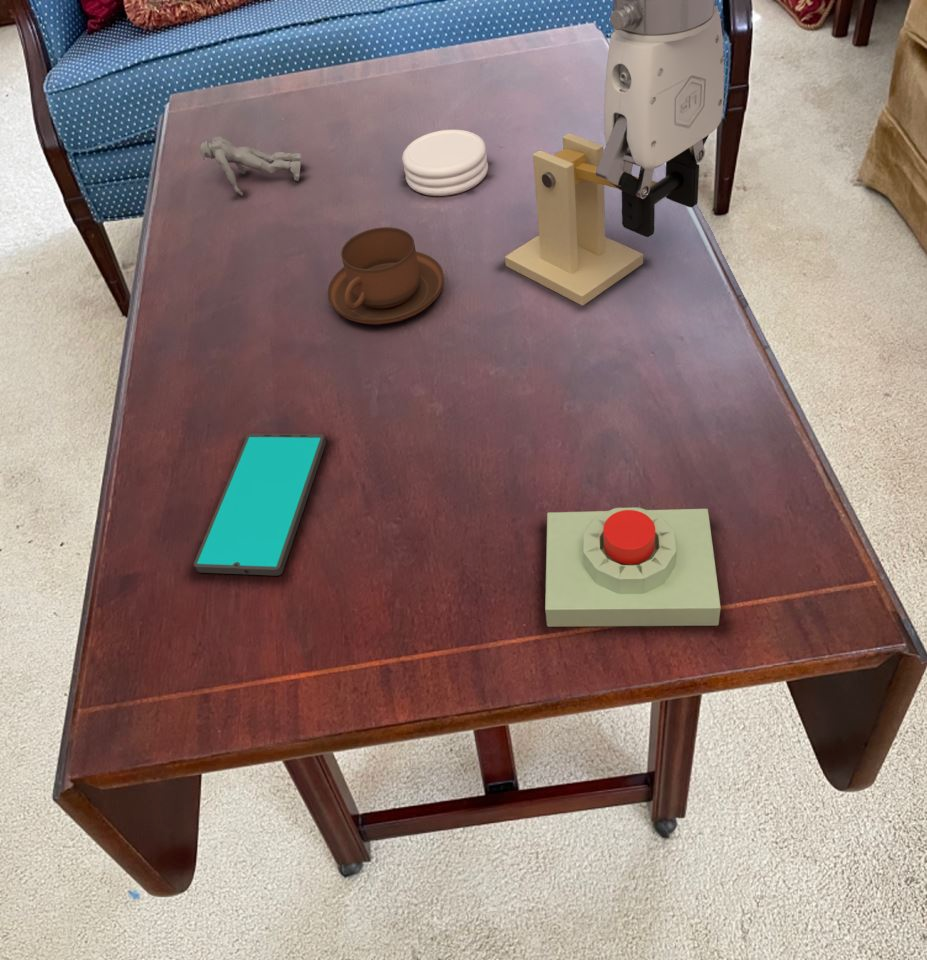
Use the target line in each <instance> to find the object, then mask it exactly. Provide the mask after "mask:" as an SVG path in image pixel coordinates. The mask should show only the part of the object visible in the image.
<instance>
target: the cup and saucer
mask: <svg viewBox="0 0 927 960" xmlns="http://www.w3.org/2000/svg"><path fill="white" fill-rule="evenodd" d="M340 252H341V253H340V257H341V260H342V264H343V267H342V268H341V269H340V270H338V272H337V273H336V274H335V275H333V277H332V279H331V281H330V282H329V285H328V287H327V298H328V301H329V303H330V306H331V307H332V308H333V310H334V311H335V312H336V313H337V314H338V315H340V316H341V317H343V318H345V319H346V320H350V321H352V322H355V323H359V324H364V325H387V324H392V323H398V322H401V321H405V320H407V319H410V318H412V317H414V316H416V315H418V314H419V313H421V312H423V311H424V310H426V309H427V308H428V307H429V306H431V304H433V302H435V301H436V300H437V298H438V297H439V295H440V294H441V292H442V289H443V287H444V281H445V273H444V270H443V268H442V266H441V265H440V263H439V262H438V261H437V260H436V259H435V258H433V257H432V256H429V255H428V254H426V253H423V252H420V251H417V250H416V244H415V239H414V238H413V236H412V235H411V233H409V232H408V231H406V230H404V229H401V228H397V227H390V226H389V227H388V226H387V227H386V226H384V227H383V226H382V227H375V228H370V229H367V230H364V231H362V232H359V233H357V234H355V235H354V236H352V237H351V238H350V239H348V240H347V241H346V242H345V244H344V245H343V247H341V251H340Z"/></svg>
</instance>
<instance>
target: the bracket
mask: <svg viewBox="0 0 927 960" xmlns="http://www.w3.org/2000/svg"><path fill="white" fill-rule="evenodd" d="M563 149H569V150H573V151H577V152H581V153H585V154H586V160H587V164H589V165H593V166H597V167H598V164H599V162H600V159H601V157H602V155H603V152H604V145H603V144H600V143H597V142H595V141H592V140H590V139H587V138H585V137H582V136H579V135H576V134H574V133H571V132H569V133H567V134H565V135H563V136H562V150H563ZM553 155H554V154H551V153H549V152H546V151H543V150H538V151H536V152H534V153H533V154H532V159H533V160H532V162H533V172H534V173H533V174H534V175H533V176H534V187H535V189H534V190H535V202H536V213H537V226H538V235H537V236H535V237H533V238H532V239H530V240H528V241H526V242H525V243H524V244H522V245H521V246H519V247H518V248H516V249H515V250H513V251H511V252H510V253H508V254H507V255H505V256H504V262H505V266H506V267H507V268H509V269H511V270H513V271H515V272H517V273H518V274H520V275H522V276H524V277H526V278H528V279H529V280H532V281H533V282H536V283H537V284H540V285H541V286H543V287H545V288H548V289H549V290H551V291H553V292H555V293H557V294H559V295H561V296H562V297H565V298H566V299H569V300H570V301H572V302H574V303H576V304H578V305H579V306H585V305H586V304H588V303H589V302H590V301H592V300H593V299H595V298H596V297H597V296H599V295H600V294H602V293H603V292H605V291H606V290H607V289H609V288H610V287H612V286H613V285H615V284H616V283H618V282H619V281H620V280H622V279H623V278H624V277H626V276H627V275H630V274H631V273H632V272H633V271H635V270H636V269H638V268H639V267H641V266H642V265H643V264H644V254H643V253H642V252H640V251H637V250H635V249H634V248H631V247H629V246H626V245H624V244H623V243H620V242H618V241H616V240H613V239H611V238H609V237H608V236H607V237H606V218H605V217H606V215H605V185H602V184H598V183H594V182H591V181H587V180H583V181H581V182H580V183H578V184H577V185H575V180H574V164H573V163H571V162H568V161H566V160H563V159H561V158H558V157H556V156H553Z"/></svg>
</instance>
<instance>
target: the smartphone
mask: <svg viewBox="0 0 927 960" xmlns="http://www.w3.org/2000/svg"><path fill="white" fill-rule="evenodd" d="M326 444H327V440H326V438H325V434H322V433H254V432H253V433H248V434H247V435H246V437H245V439H244V442H243V444H242V446H241V449H240V451H239V454H238V456H237V459H236V460H235V463H234V466H233V469H232V470H231V473H230V476H229V477H228V480H227V483H226V485H225V487H224V490H223V493H222V495H221V497H220V499H219V501H218V505H217V506H216V509H215V512H214V513H213V516H212V519H211V521H210V523H209V526H208V528H207V530H206V533H205V535H204V538H203V540H202V542H201V544H200V547H199V550H198V552H197V554H196V557H195V559H194V562H193V566H194V568H195V570H196V572H197V573H201V574H223V575H224V574H225V575H226V574H227V575H228V574H230V575H250V576H251V575H252V576H274V577H275V576H281V575H282V574H283V572H284V569H285V565H286V564H287V561H288V558H289V556H290V552H291V548H292V545H293V542H294V540H295V537H296V533H297V531H298V528H299V525H300V522H301V519H302V515H303V514H304V510H305V507H306V504H307V501H308V499H309V495H310V492H311V489H312V487H313V486H312V485H313V484H314V480H315V477H316V473H317V471H318V469H319V465H320V462H321V460H322V459H321V458H322V457H323V454H324V451H325V447H326Z"/></svg>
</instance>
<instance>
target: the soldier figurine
mask: <svg viewBox="0 0 927 960" xmlns="http://www.w3.org/2000/svg"><path fill="white" fill-rule="evenodd" d="M210 141H211V142H209V140H204V141H202V142H201V144H200V147H199V151H200V155H201V158H202V160H203V161H205V158H207V159H211V160H212V159H213V160H214V159H215V161H216V162H217V164H218V166H220V167H221V169H222V170H223V172H225V174H226V175H225V176H226V178H227V180H228V181H229V183H230V184H231V185H232V186H233V188H234V191H235V192H236V193H237V194H238V195H240V196H242V197H243V196H244V193H243V192H242V191H241V190H240V188H239V186H238V182H237V177H236V174H235V172H234V170H233V169H232V167H231V165H230V164H235V165H236V167H237V170H238V172H239V173H240V174H242V175H245V174H246V173H247V171H246V170H247V168H250V169H253V170H256V171H263V172H264V171H265V172H267V173H270V174H274V173H277V172H278V171H281V170H286V171H288V170H289V171H290V172H291V173H292V174H293V179H294V181H296V182H299V181H300V174H301V164H302V162H301V161H302V160H301V159H302V153H301V152H292V153H291V152H287V153H286V152H283V151H277V152H273V153H272V154H268V153H266V152H264V151H261V150H259V149H257V148H253V147H249V146H245V145H244V146H238V147H236V146H234V144H233V143H232V142H230V141H229V140H228V139H225V138H224V137H223V136H221V135H219V136H213V137H212V138H211V139H210Z"/></svg>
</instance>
